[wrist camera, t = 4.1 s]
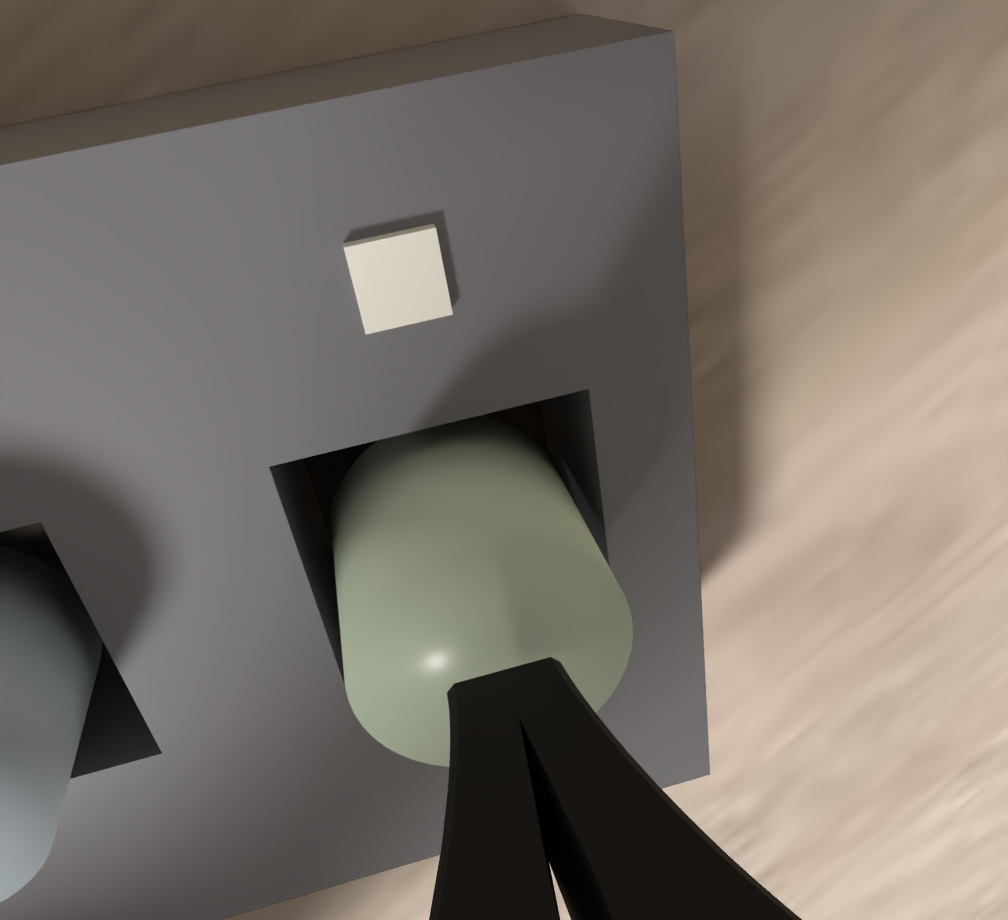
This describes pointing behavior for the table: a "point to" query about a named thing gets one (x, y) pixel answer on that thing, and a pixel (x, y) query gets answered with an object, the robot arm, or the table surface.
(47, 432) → the button panel
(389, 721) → the button one
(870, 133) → the table surface
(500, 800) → the robot arm
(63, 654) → the button two
